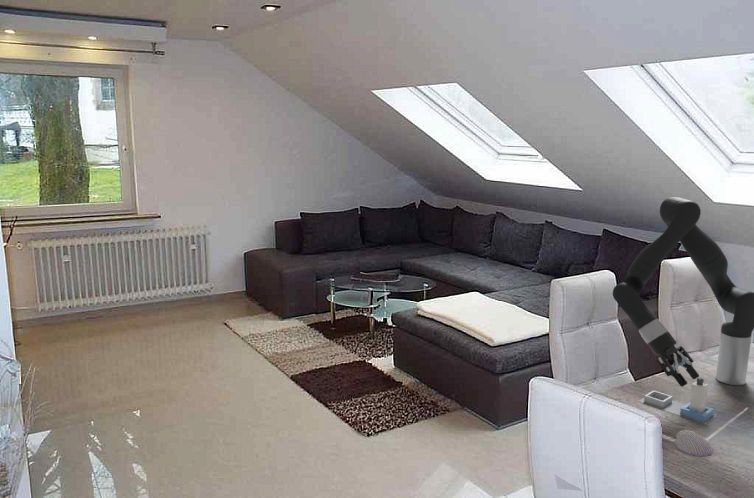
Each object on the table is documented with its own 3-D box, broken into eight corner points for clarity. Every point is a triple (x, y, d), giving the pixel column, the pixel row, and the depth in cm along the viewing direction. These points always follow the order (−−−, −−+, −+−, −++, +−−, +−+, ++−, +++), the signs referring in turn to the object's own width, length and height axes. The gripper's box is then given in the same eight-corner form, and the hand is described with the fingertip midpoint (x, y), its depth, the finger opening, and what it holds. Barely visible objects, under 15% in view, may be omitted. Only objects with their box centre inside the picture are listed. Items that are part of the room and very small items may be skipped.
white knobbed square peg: (688, 414, 190) (692, 378, 188) (693, 411, 192) (696, 376, 190) (699, 418, 188) (703, 382, 185) (704, 414, 190) (708, 379, 187)
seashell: (686, 424, 179) (720, 431, 171) (688, 443, 179) (722, 451, 171) (664, 432, 174) (697, 440, 166) (666, 451, 174) (699, 460, 166)
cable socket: (637, 403, 199) (638, 393, 199) (650, 395, 205) (651, 385, 205) (705, 426, 184) (706, 415, 183) (717, 417, 190) (719, 406, 189)
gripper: (655, 335, 189) (690, 382, 183) (676, 326, 198) (710, 370, 192) (637, 347, 194) (671, 393, 188) (658, 337, 203) (691, 380, 197)
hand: (690, 381), depth 190 cm, fingers open, 8 cm apart
